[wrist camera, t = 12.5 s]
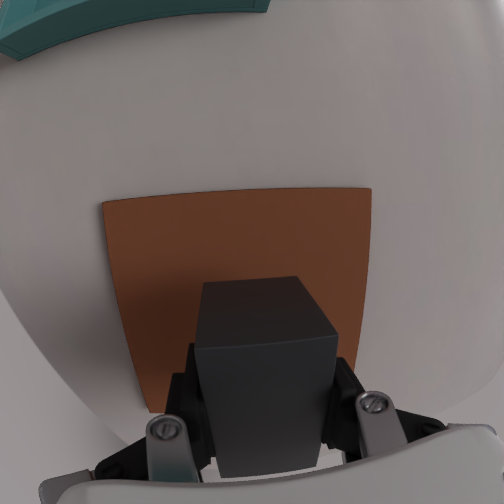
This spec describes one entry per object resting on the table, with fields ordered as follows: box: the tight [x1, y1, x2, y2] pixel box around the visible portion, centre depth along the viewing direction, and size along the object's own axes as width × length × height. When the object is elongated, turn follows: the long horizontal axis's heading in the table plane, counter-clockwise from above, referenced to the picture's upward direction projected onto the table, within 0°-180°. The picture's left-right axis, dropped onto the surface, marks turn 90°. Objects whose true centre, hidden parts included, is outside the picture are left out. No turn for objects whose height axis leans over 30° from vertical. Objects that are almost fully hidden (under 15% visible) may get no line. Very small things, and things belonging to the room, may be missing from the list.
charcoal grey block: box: [194, 276, 339, 478], centre depth 11 cm, size 4×7×5 cm, turn 2°
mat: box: [102, 188, 372, 413], centre depth 16 cm, size 14×14×1 cm
